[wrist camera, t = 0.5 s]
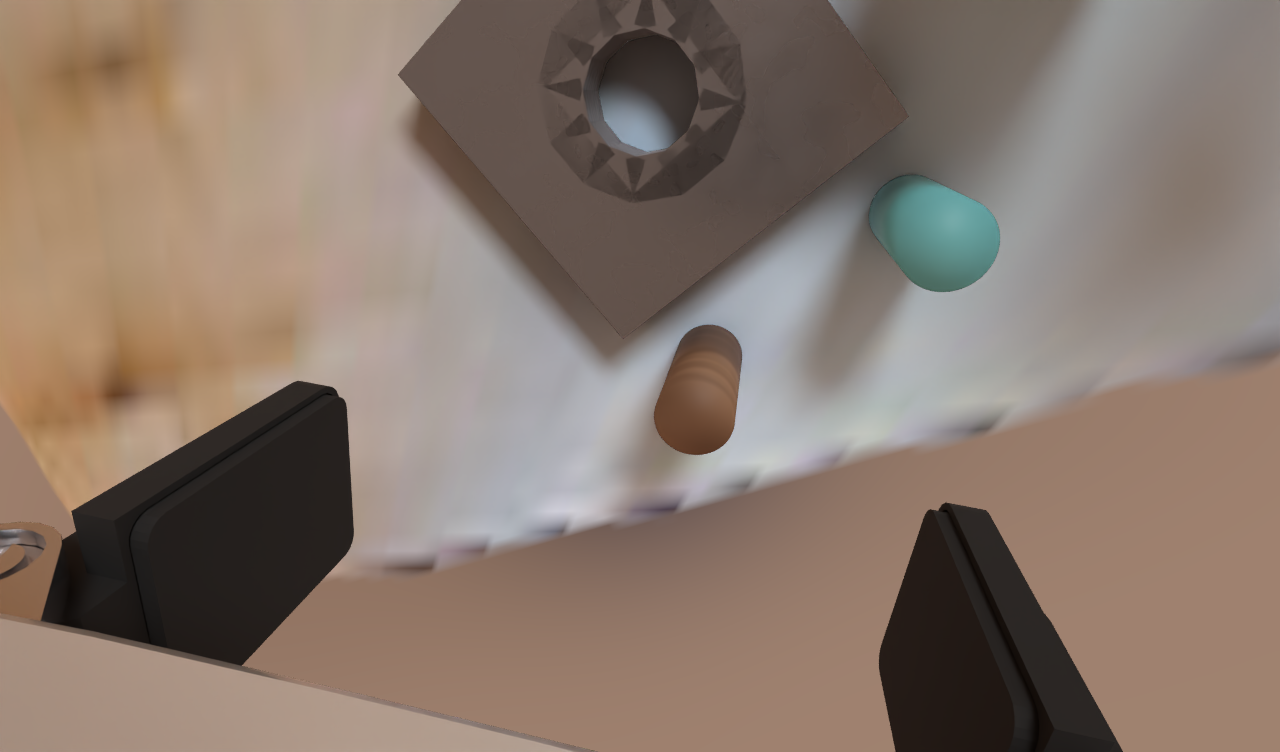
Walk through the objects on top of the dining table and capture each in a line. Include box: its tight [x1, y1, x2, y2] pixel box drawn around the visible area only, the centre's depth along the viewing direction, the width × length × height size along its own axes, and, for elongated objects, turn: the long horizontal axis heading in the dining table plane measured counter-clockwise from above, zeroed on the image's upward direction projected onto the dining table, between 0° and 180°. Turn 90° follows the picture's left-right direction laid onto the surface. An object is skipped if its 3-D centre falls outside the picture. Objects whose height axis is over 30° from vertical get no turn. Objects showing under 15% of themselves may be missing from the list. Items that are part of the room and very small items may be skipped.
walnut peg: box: [654, 325, 742, 455], centre depth 33 cm, size 4×4×8 cm
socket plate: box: [398, 0, 909, 339], centre depth 31 cm, size 16×16×3 cm
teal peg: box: [869, 175, 1000, 292], centre depth 28 cm, size 4×4×8 cm
